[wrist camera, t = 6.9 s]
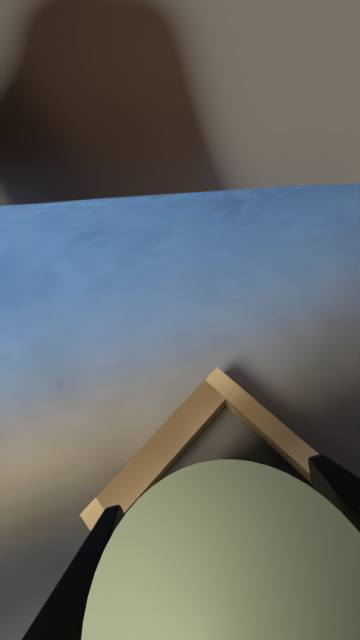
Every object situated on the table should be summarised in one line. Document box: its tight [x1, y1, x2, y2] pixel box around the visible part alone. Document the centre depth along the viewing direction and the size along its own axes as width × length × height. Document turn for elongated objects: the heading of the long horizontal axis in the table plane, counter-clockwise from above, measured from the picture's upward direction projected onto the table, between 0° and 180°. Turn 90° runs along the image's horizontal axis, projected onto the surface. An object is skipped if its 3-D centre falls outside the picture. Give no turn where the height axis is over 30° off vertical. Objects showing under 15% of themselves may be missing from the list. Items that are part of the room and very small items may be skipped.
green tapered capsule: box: [81, 459, 360, 640], centre depth 9 cm, size 4×4×13 cm
